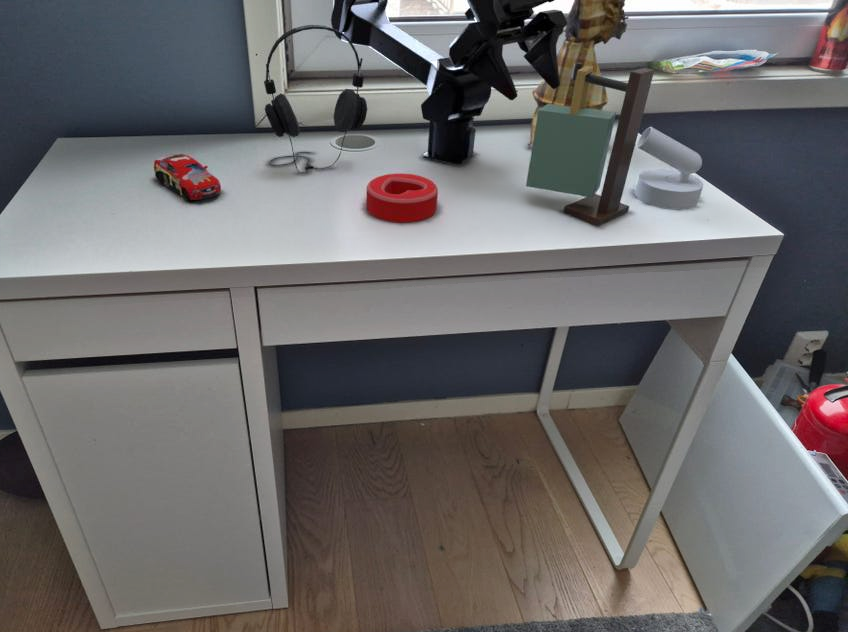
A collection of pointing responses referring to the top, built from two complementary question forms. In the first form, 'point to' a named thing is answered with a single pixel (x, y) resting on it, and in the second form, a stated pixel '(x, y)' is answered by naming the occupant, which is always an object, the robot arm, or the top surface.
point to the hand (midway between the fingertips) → (536, 92)
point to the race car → (186, 177)
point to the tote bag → (570, 144)
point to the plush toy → (582, 52)
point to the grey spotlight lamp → (669, 173)
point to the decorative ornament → (401, 198)
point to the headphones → (347, 107)
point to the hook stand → (615, 148)
